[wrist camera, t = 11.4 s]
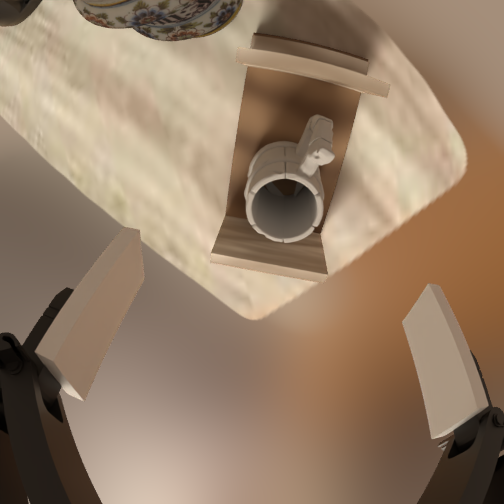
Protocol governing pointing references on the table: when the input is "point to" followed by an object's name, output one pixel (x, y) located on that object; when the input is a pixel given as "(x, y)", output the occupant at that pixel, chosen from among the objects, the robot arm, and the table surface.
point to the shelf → (289, 129)
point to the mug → (295, 168)
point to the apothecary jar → (162, 16)
